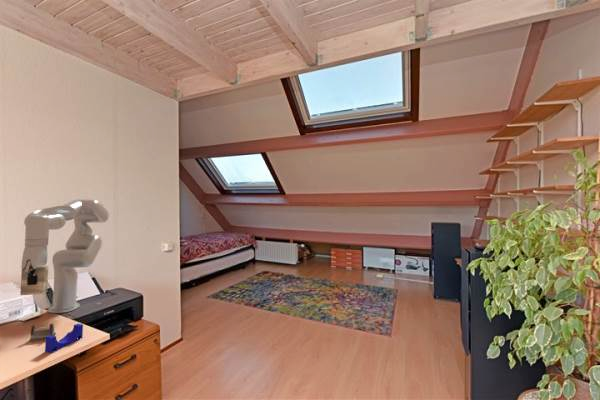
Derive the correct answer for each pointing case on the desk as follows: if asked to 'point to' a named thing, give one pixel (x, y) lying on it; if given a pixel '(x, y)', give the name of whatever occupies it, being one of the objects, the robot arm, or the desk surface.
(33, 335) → the offcut rack
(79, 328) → the blue cradle stand
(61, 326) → the desk surface
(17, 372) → the desk surface
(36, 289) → the tan wooden block
